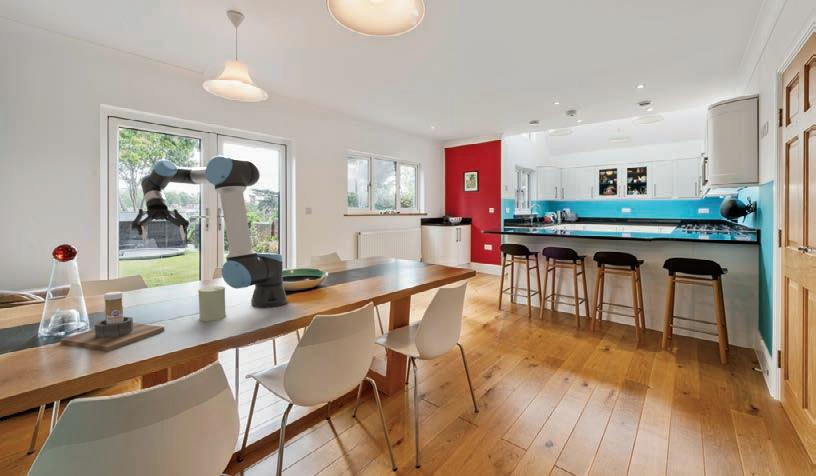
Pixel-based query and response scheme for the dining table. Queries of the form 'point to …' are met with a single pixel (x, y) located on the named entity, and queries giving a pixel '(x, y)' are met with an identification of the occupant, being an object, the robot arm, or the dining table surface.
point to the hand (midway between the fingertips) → (165, 239)
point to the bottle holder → (112, 335)
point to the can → (212, 303)
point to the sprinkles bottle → (113, 307)
